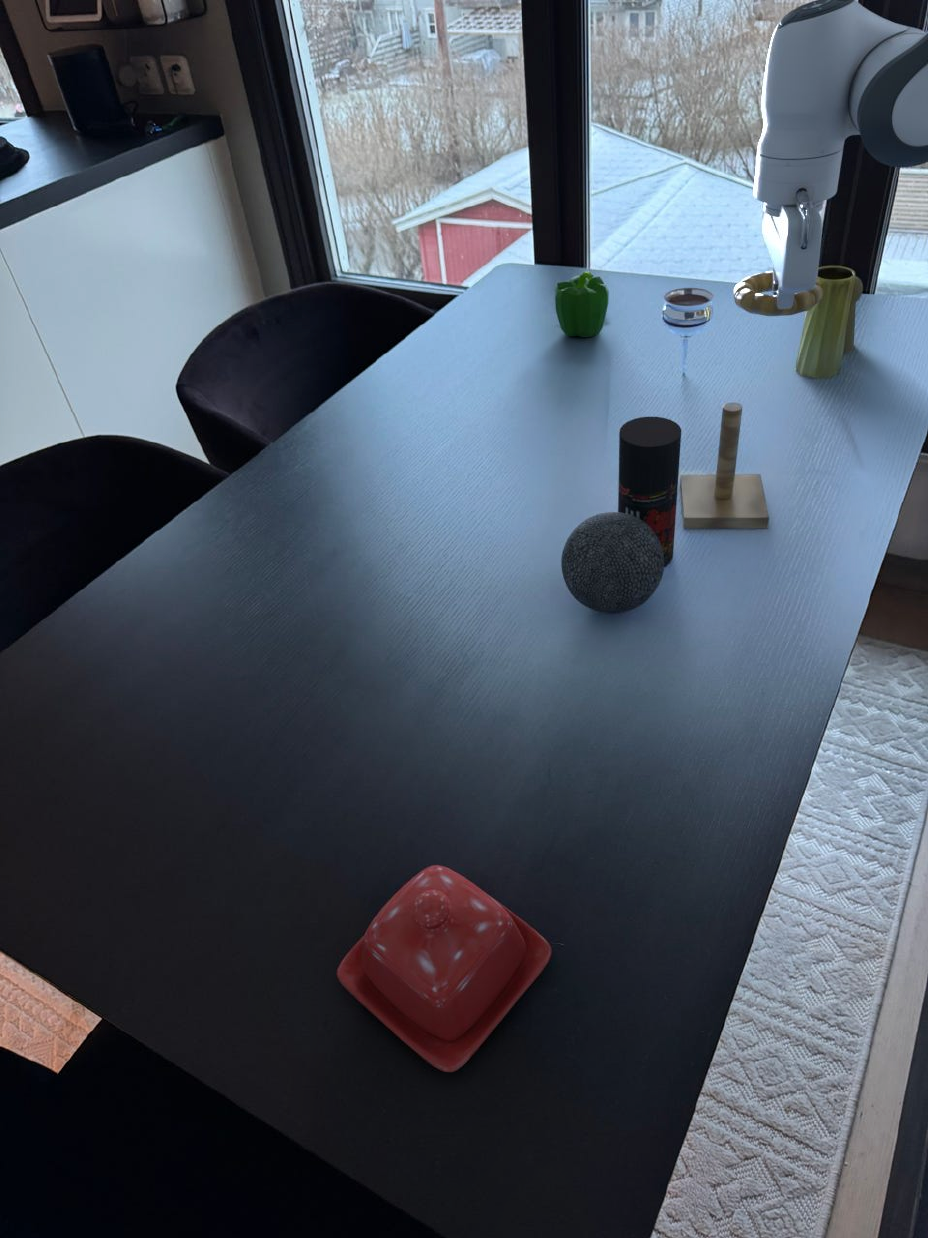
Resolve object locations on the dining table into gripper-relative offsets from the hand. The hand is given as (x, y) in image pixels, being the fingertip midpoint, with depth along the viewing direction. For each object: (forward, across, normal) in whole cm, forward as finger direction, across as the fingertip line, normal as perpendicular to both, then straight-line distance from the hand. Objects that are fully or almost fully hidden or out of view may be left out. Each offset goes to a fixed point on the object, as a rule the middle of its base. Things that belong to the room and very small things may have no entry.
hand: (781, 300), depth 107 cm
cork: (+15, +17, -10) cm, 25 cm away
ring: (0, +4, 0) cm, 4 cm away
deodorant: (+15, -31, +16) cm, 38 cm away
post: (+15, -22, +8) cm, 28 cm away
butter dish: (+15, -80, +31) cm, 87 cm away
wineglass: (+15, +10, +11) cm, 21 cm away
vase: (+15, +10, -7) cm, 20 cm away
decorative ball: (+15, -39, +20) cm, 46 cm away
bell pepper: (+15, +28, +26) cm, 41 cm away
